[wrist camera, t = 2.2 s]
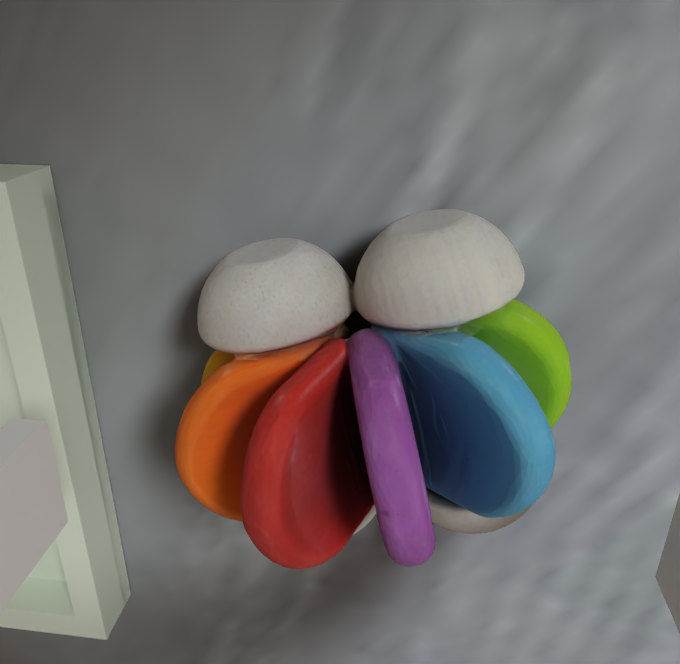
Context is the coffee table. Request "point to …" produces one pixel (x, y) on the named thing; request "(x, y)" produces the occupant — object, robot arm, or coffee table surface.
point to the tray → (55, 415)
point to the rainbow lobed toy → (373, 391)
